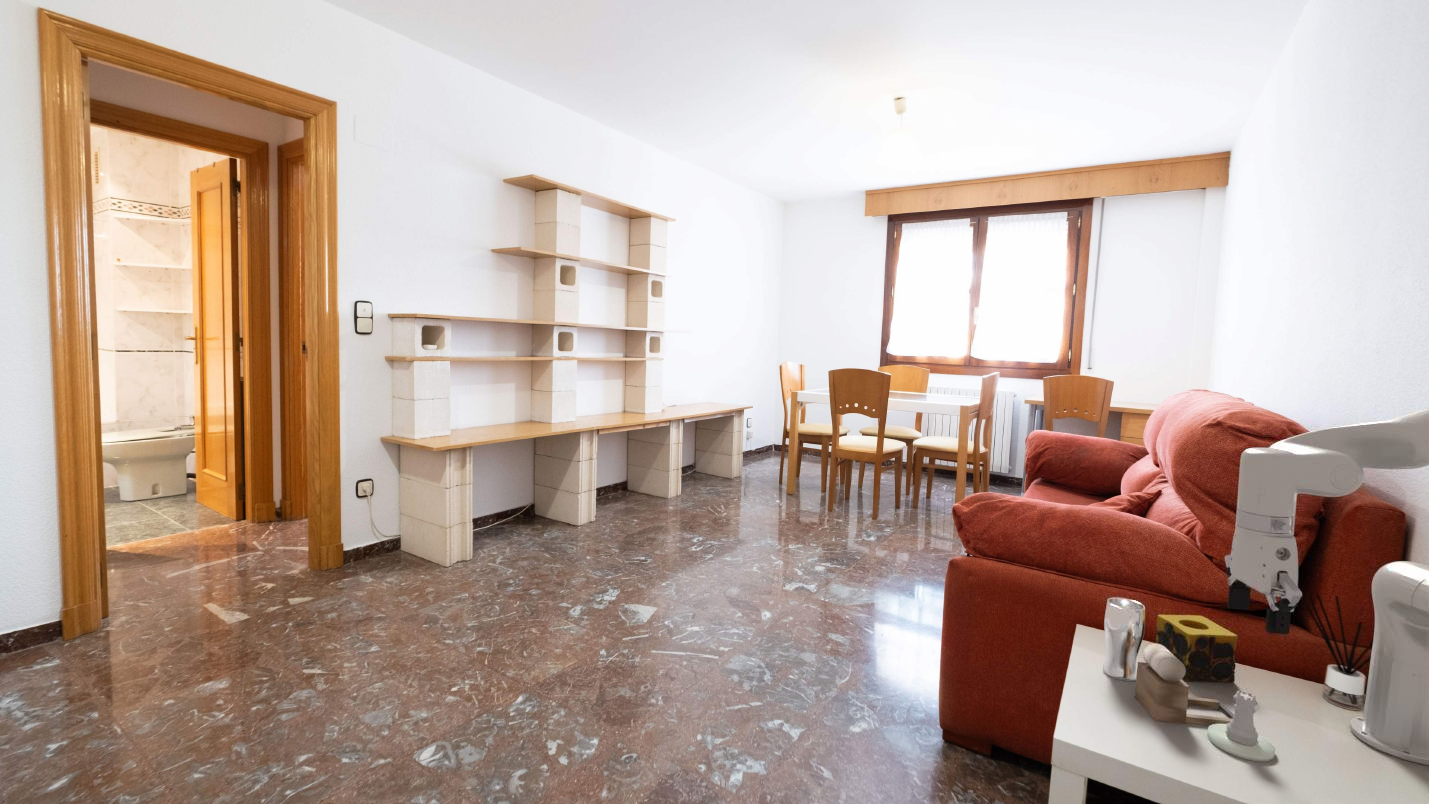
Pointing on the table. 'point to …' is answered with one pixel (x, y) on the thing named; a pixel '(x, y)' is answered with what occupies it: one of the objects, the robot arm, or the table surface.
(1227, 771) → the table surface
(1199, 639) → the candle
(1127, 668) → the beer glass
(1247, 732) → the rook chess piece
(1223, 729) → the pale green round disc
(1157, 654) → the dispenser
